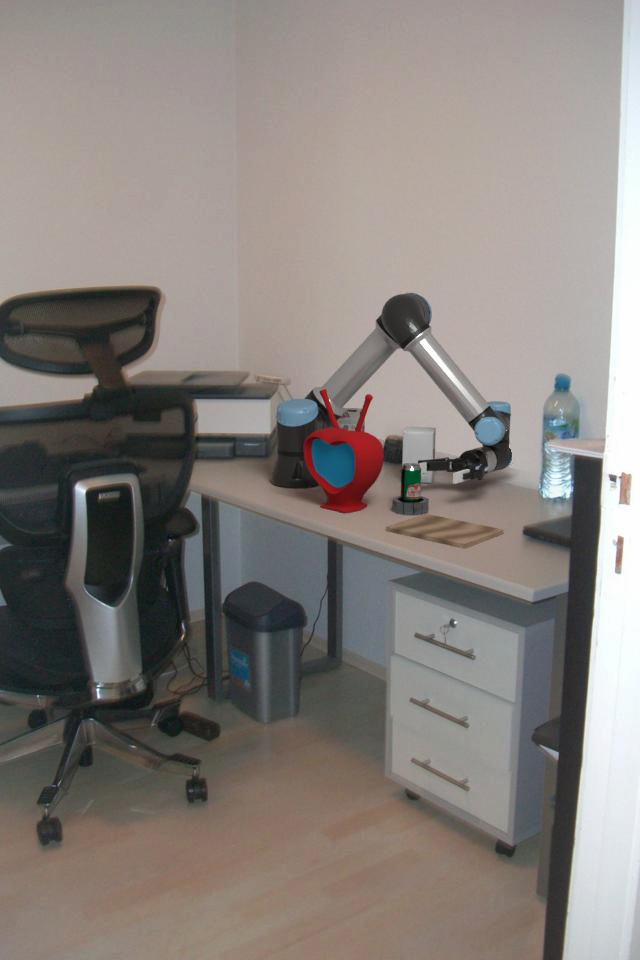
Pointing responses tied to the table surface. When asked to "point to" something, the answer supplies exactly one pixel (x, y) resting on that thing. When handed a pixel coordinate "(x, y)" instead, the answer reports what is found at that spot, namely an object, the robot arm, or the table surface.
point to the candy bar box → (350, 419)
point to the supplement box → (419, 448)
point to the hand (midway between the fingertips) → (432, 474)
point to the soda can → (411, 482)
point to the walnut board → (445, 530)
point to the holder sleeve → (410, 506)
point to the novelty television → (344, 461)
